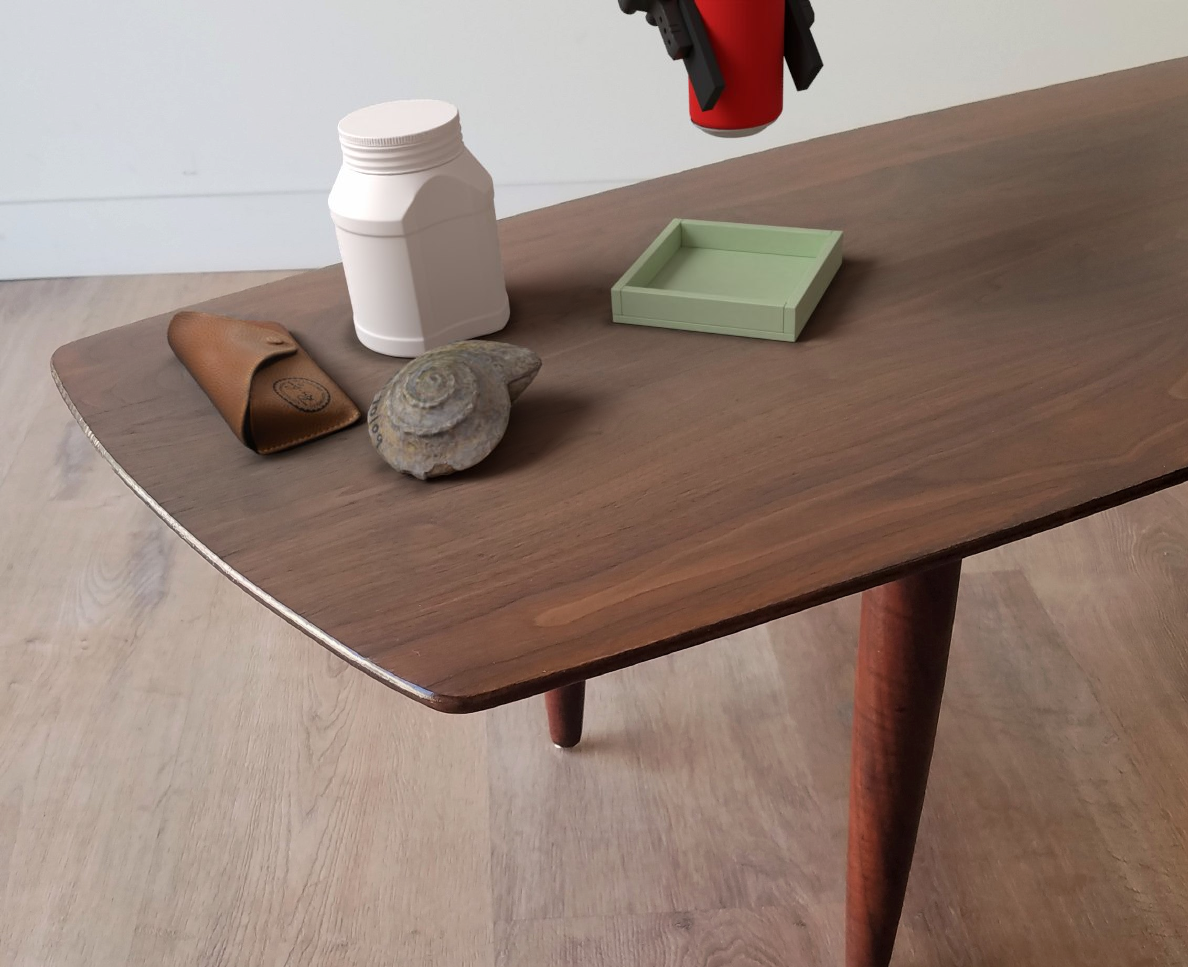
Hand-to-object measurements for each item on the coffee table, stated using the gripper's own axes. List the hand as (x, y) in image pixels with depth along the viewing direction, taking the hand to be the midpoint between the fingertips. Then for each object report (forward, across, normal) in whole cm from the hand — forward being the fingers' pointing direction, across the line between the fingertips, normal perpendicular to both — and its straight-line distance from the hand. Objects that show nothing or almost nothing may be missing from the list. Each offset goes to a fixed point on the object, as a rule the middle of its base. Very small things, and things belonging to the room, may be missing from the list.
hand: (762, 88), depth 77 cm
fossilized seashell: (+14, +24, -9) cm, 29 cm away
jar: (+2, +21, -21) cm, 29 cm away
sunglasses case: (+5, +34, -18) cm, 39 cm away
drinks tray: (+7, -1, -16) cm, 17 cm away
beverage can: (0, 0, -5) cm, 5 cm away
